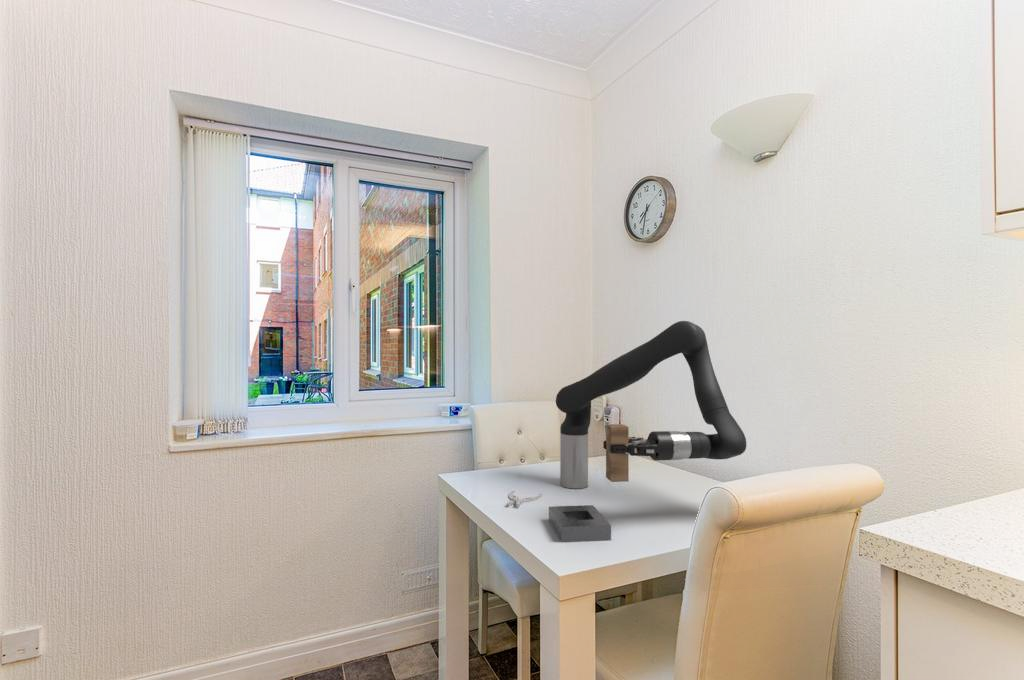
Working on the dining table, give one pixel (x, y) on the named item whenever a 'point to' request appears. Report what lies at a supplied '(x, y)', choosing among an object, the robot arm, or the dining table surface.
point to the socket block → (579, 523)
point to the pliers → (518, 501)
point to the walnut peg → (616, 461)
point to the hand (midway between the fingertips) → (607, 446)
